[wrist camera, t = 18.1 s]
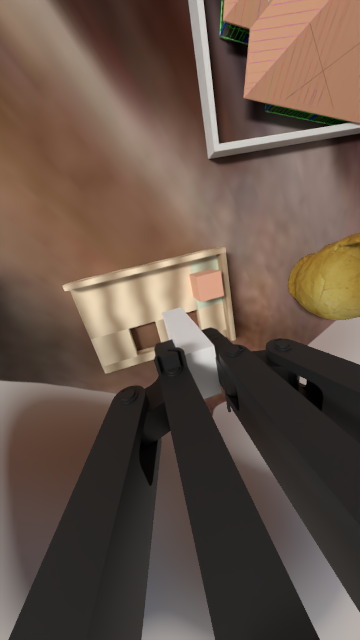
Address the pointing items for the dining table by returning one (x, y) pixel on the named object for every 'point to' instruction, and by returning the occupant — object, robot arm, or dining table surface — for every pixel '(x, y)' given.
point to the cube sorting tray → (148, 304)
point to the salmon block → (206, 284)
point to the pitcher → (329, 280)
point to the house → (301, 55)
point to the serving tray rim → (209, 106)
